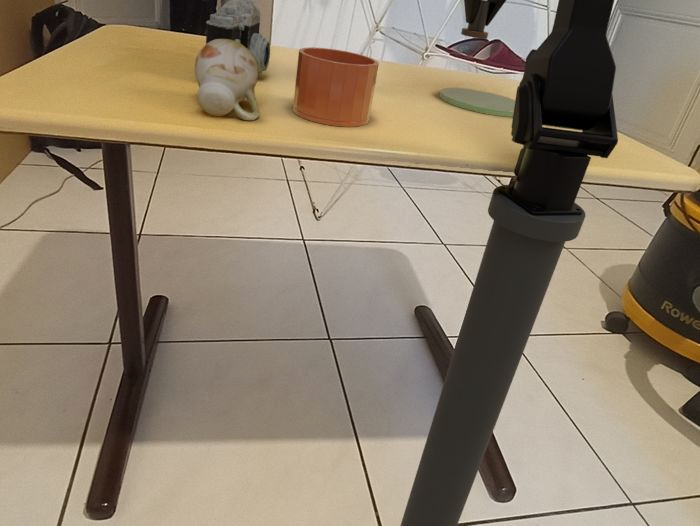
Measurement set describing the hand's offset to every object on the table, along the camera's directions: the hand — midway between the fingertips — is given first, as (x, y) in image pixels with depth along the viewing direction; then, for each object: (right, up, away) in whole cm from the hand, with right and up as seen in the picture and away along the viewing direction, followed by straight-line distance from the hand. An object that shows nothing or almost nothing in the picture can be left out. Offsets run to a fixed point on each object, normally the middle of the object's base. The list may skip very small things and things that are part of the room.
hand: (476, 24), depth 80 cm
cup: (-20, -16, -11) cm, 28 cm away
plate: (+3, -8, +10) cm, 14 cm away
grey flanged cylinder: (0, -1, +1) cm, 2 cm away
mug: (-32, -16, -15) cm, 40 cm away
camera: (-34, -8, 0) cm, 35 cm away
